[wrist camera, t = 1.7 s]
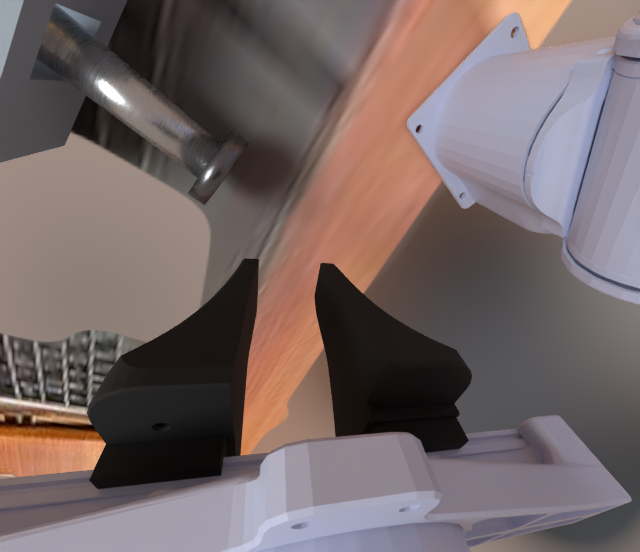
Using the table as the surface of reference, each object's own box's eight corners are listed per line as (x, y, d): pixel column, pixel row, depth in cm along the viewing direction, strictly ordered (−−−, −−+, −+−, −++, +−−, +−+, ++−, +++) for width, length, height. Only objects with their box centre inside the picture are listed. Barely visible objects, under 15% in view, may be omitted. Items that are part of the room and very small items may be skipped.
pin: (251, 137, 16) (245, 150, 13) (212, 190, 18) (196, 216, 14) (91, -11, 12) (10, -56, 8) (57, 77, 14) (-24, 72, 10)
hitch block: (155, -65, 12) (74, -171, 7) (64, 145, 16) (-27, 169, 11) (79, -152, 10) (-90, -362, 6) (0, 105, 14) (-137, 112, 10)
